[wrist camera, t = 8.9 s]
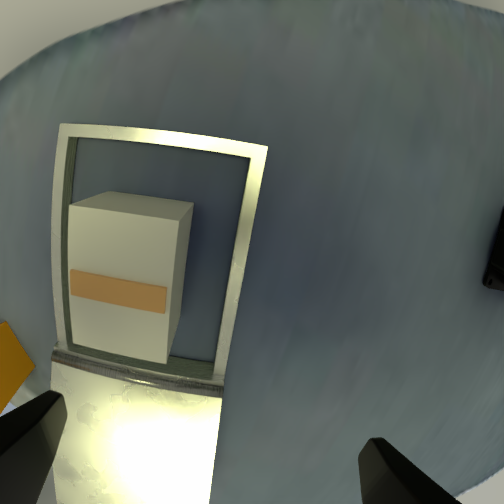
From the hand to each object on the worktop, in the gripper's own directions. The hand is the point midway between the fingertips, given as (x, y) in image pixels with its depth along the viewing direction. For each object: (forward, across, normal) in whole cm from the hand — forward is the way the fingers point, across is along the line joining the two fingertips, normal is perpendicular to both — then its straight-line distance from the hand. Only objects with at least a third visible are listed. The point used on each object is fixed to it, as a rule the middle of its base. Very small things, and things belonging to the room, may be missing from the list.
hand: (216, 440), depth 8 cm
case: (+11, +5, +6) cm, 14 cm away
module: (+12, +5, -1) cm, 13 cm away
